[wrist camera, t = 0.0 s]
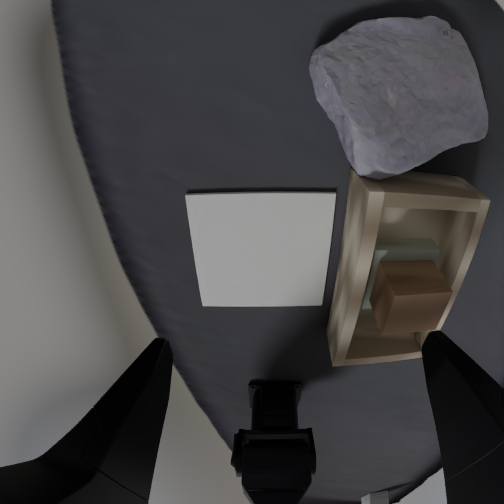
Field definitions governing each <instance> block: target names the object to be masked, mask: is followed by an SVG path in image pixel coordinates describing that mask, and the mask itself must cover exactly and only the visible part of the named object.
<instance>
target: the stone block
mask: <svg viewBox="0 0 504 504" xmlns="http://www.w3.org/2000/svg"><path fill="white" fill-rule="evenodd" d="M309 72H310V76H311V78H312V81H313V86H314V92H315V94H316V98H317V101H318V102H319V103H320V104H321V106H322V107H323V109H324V110H325V112H326V113H327V116H328V118H329V119H330V120H332V121H333V122H334V125H335V127H336V129H337V132H338V136H339V138H340V141H341V143H342V146H343V149H344V152H345V154H346V157H347V159H348V160H349V161H350V163H351V166H352V167H353V168H354V170H355V171H356V172H357V174H358V175H359V176H365V177H367V178H368V179H377V180H381V179H384V178H388V177H390V176H395V175H399V174H401V173H404V172H406V171H409V170H411V169H412V168H414V167H417V166H419V165H421V164H423V163H425V162H427V161H429V160H430V159H432V158H433V157H435V156H436V155H438V154H439V153H441V152H443V151H445V150H447V149H449V148H452V147H456V146H459V145H461V144H464V143H471V142H477V141H480V140H481V139H483V138H485V136H486V134H487V131H488V111H487V107H486V102H485V99H484V95H483V90H482V86H481V82H480V79H479V75H478V71H477V67H476V64H475V61H474V59H473V57H472V55H471V53H470V51H469V48H468V46H467V44H466V42H465V40H464V38H463V37H462V35H461V34H460V32H458V31H456V30H453V29H452V28H451V27H450V25H449V23H448V22H447V21H444V20H442V19H440V18H437V17H435V16H424V17H421V18H408V17H386V18H379V19H375V20H367V21H362V22H358V23H357V24H355V25H354V26H353V27H351V28H350V29H348V30H346V31H344V32H343V33H341V34H339V35H338V36H337V37H336V38H335V39H334V40H332V41H330V42H328V43H326V44H324V45H321V46H320V47H318V48H316V49H315V51H314V52H313V53H312V56H311V59H310V65H309Z"/></svg>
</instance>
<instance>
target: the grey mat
mask: <svg viewBox="0 0 504 504" xmlns="http://www.w3.org/2000/svg"><path fill="white" fill-rule="evenodd" d="M185 197H186V204H187V211H188V219H189V226H190V232H191V239H192V246H193V252H194V258H195V265H196V271H197V277H198V283H199V288H200V294H201V300H202V305H203V306H317V305H322V301H323V295H324V289H325V282H326V275H327V268H328V260H329V253H330V245H331V237H332V228H333V219H334V210H335V200H336V193H335V192H222V193H194V194H186V195H185Z"/></svg>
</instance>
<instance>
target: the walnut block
mask: <svg viewBox="0 0 504 504" xmlns="http://www.w3.org/2000/svg"><path fill="white" fill-rule="evenodd" d="M452 293H453V291H452V289H451V288H450V286H449V284H448V283H447V281H446V280H445V278H444V277H443V275H442V274H441V272H440V271H439V269H438V268H437V266H436V265H435V263H434V262H433V260H415V261H379V263H378V267H377V271H376V275H375V279H374V283H373V287H372V291H371V294H370V298H369V302H370V304H371V307H372V310H373V313H374V316H375V319H376V321H377V324H378V327H379V330H380V333H381V335H392V334H402V333H412V332H420V331H429V330H436V328H437V326H438V324H439V322H440V320H441V317H442V315H443V313H444V311H445V309H446V307H447V305H448V302H449V300H450V298H451V296H452Z"/></svg>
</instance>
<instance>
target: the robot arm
mask: <svg viewBox="0 0 504 504" xmlns="http://www.w3.org/2000/svg"><path fill="white" fill-rule="evenodd" d="M421 353H422V359H423V365H424V371H425V378H426V384H427V390H428V394H429V398H430V403H431V407H432V411H433V416H434V421H435V425H436V430H437V435H438V441H439V446H440V452H441V458H442V464H443V471H444V478H445V486H446V496H447V504H504V389H503V388H501V386H500V385H499V384H498V383H497V382H496V381H495V380H494V379H493V378H492V377H491V376H490V375H489V374H488V373H487V372H486V371H485V370H483V369H482V368H481V367H480V366H479V365H478V364H477V363H476V362H475V361H474V360H473V359H472V358H471V357H469V356H468V355H467V354H466V353H465V352H464V351H463V350H462V349H461V348H460V347H458V346H457V345H456V344H455V343H454V342H453V341H452V340H451V339H449V338H448V337H447V336H446V335H445V334H444V333H443V332H441V331H440V330H435V331H430V332H429V333H428V335H427V337H426V339H425V341H424V343H423V345H422V348H421ZM172 366H173V353H172V350H171V347H170V344H169V341H168V339H166V338H155V339H154V340H153V341H152V342H151V343H150V344H149V345H148V347H147V348H146V349H145V350H144V351H143V352H142V353H141V354H140V356H138V358H137V359H136V360H135V361H134V362H133V363H132V364H131V365H130V366H129V367H128V369H127V370H126V371H125V372H124V373H123V374H122V375H121V376H120V377H119V378H118V380H117V381H116V382H115V383H114V384H113V385H112V386H111V387H110V388H109V390H108V391H107V392H106V393H105V394H104V395H103V396H102V397H101V398H100V400H99V401H98V402H97V403H96V404H95V405H94V406H93V408H91V410H90V411H89V412H88V413H87V414H86V415H85V416H84V417H83V418H82V419H81V421H79V423H78V424H77V425H76V426H75V427H74V428H72V429H71V430H70V431H69V432H68V433H67V434H66V435H65V436H64V437H63V438H62V439H60V440H59V441H58V442H57V443H56V444H55V445H54V446H52V447H51V448H50V449H49V450H48V451H47V452H45V453H44V454H43V455H41V456H40V457H38V458H36V459H34V460H30V461H27V462H23V463H18V464H14V465H9V466H4V467H0V504H148V500H149V495H150V489H151V484H152V479H153V474H154V468H155V463H156V458H157V453H158V448H159V443H160V438H161V434H162V429H163V424H164V420H165V415H166V410H167V406H168V400H169V394H170V384H171V375H172ZM248 388H249V401H250V408H252V423H251V430H244V429H239V433H237V434H234V446H233V452H232V457H231V465H232V466H233V467H234V468H235V471H236V475H237V476H238V477H242V487H243V490H244V494H245V495H246V497H247V498H248V500H249V502H250V503H251V504H299V503H300V501H301V500H302V498H303V496H304V495H305V493H306V491H307V490H308V488H309V486H310V484H311V481H312V479H311V475H315V471H316V452H315V446H314V439H313V433H312V428H307V429H298V414H297V406H298V402H299V396H300V391H301V383H300V382H273V383H249V387H248Z"/></svg>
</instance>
